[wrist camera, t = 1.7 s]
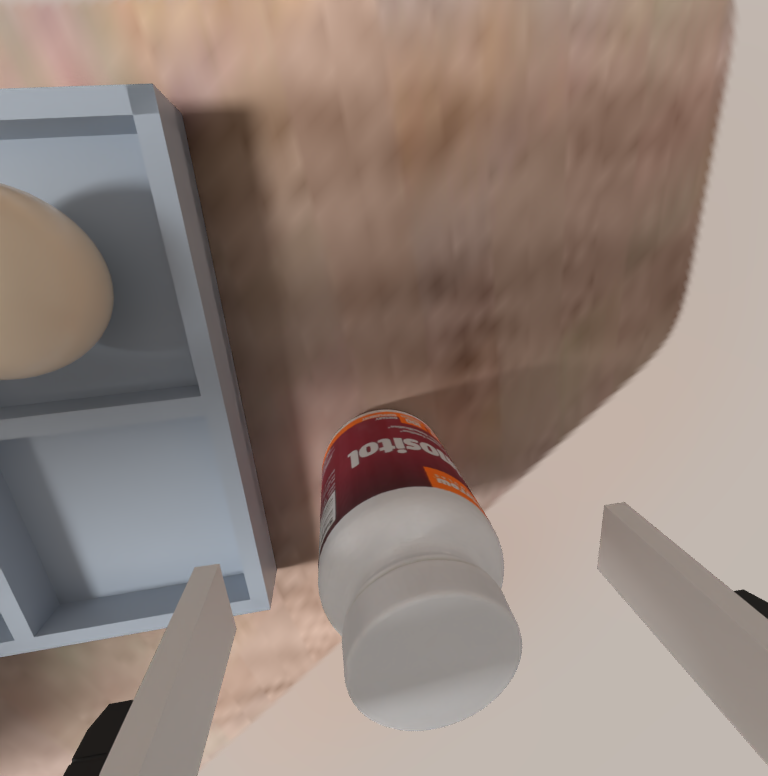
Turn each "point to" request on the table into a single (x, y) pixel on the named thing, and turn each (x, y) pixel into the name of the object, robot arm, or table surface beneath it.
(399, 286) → the table surface
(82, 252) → the egg brown
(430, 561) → the pill bottle
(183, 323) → the divided tray
